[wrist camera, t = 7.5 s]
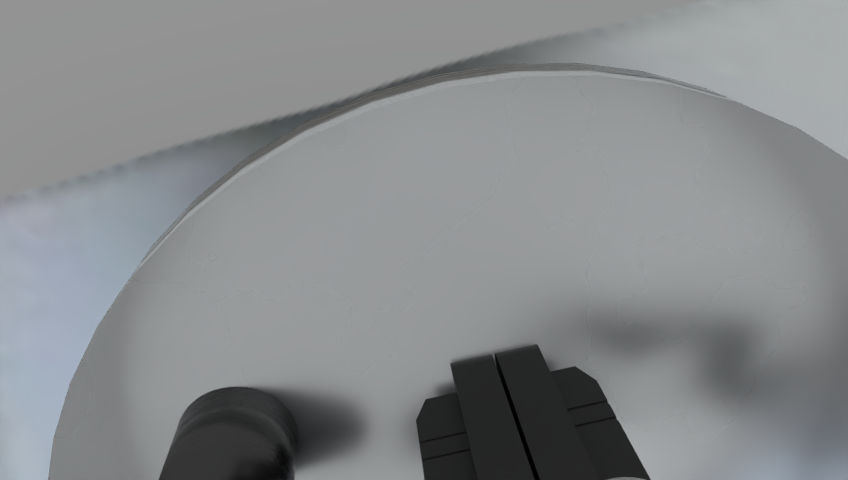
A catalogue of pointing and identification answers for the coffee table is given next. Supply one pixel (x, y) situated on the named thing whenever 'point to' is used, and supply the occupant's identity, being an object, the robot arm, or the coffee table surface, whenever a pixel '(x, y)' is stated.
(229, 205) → the cooker lid
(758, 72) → the coffee table surface
